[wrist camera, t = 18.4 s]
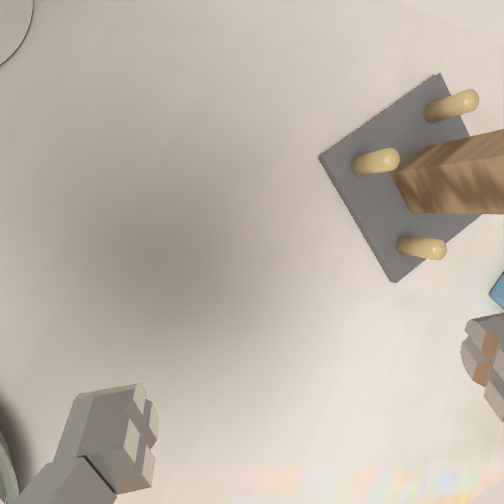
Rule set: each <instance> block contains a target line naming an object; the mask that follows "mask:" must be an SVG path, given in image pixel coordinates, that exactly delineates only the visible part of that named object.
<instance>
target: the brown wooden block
mask: <svg viewBox="0 0 504 504" xmlns="http://www.w3.org/2000/svg"><path fill="white" fill-rule="evenodd" d="M390 175H391V177H392V178H393V180H394V182H395V184H396V186H397V188H398V190H399V192H400V193H401V195H402V197H403V199H404V201H405V203H406V205H407V206H408V208H409V210H410V212H411V213H457V214H504V129H502V130H498V131H493V132H489V133H484V134H480V135H476V136H471V137H467V138H462V139H458V140H453V141H449V142H445V143H440V144H436V145H431V146H427V147H424V148H423V149H421V150H420V151H419V152H417V153H416V154H415V155H413V156H412V157H411V158H409V159H408V160H406V161H405V162H404V163H402V164H401V165H400V166H398V167H397V168H396V169H394V170H393V171H392V172H390Z"/></svg>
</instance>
